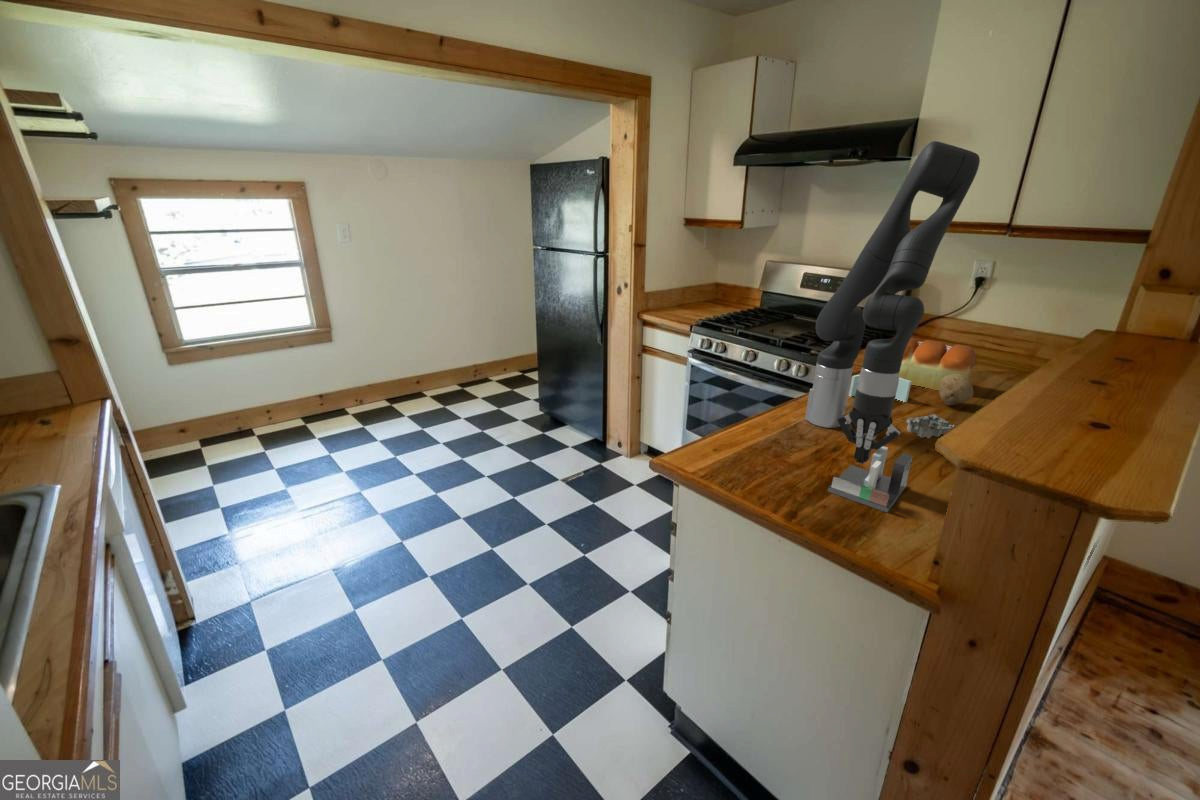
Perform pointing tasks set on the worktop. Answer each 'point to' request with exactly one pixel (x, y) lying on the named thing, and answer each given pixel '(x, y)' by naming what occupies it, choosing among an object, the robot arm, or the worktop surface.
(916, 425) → the jagged gray rock
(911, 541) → the worktop surface
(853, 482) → the stand
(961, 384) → the natural sponge
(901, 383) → the l-shaped corner panel
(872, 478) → the bar
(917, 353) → the bread
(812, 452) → the worktop surface
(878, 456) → the block
